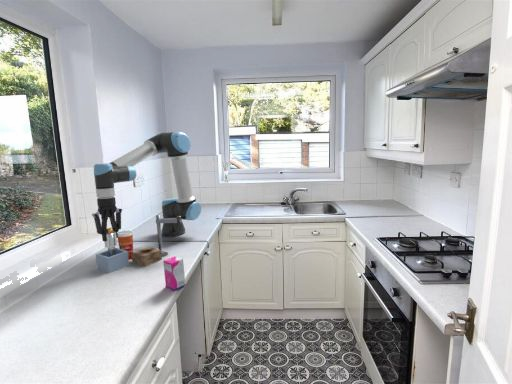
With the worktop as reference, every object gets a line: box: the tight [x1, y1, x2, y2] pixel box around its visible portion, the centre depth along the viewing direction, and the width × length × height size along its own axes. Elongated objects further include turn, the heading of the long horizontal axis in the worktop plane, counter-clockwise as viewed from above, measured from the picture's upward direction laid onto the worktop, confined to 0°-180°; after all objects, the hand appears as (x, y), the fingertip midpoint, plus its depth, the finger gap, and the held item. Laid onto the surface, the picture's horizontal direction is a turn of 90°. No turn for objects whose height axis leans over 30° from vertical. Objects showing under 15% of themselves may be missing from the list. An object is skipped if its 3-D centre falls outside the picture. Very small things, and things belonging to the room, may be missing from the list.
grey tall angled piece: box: [155, 214, 181, 253], centre depth 153 cm, size 13×2×20 cm, turn 92°
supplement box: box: [162, 256, 186, 292], centre depth 119 cm, size 6×6×12 cm
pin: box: [107, 227, 116, 257], centre depth 139 cm, size 3×3×15 cm
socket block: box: [131, 246, 163, 267], centre depth 147 cm, size 10×10×5 cm
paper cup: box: [117, 229, 134, 261], centre depth 150 cm, size 8×8×14 cm
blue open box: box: [95, 247, 130, 274], centre depth 141 cm, size 10×10×7 cm
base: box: [162, 250, 169, 258], centre depth 154 cm, size 5×5×1 cm
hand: (111, 246), depth 139 cm, fingers closed on pin, 3 cm apart
